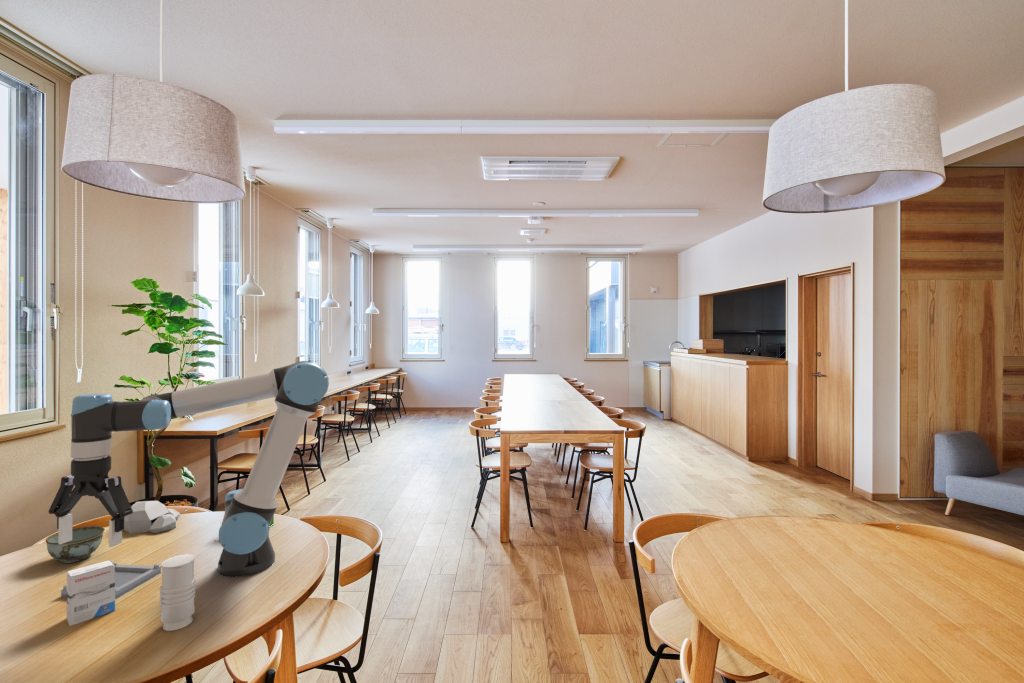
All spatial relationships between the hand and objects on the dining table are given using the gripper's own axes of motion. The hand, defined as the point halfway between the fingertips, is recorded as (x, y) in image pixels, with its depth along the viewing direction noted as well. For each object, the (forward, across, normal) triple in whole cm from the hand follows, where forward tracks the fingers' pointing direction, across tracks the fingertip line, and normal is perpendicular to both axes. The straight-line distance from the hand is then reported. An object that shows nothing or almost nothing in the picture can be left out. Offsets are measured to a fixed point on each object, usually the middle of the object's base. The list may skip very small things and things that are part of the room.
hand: (90, 543), depth 118 cm
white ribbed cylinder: (+18, -24, +1) cm, 30 cm away
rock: (+18, +32, -53) cm, 65 cm away
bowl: (+18, +34, -27) cm, 47 cm away
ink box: (+18, 0, 0) cm, 18 cm away
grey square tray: (+18, +8, -14) cm, 24 cm away
